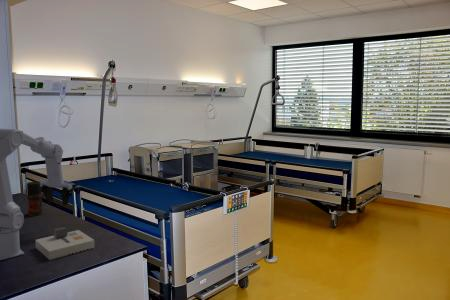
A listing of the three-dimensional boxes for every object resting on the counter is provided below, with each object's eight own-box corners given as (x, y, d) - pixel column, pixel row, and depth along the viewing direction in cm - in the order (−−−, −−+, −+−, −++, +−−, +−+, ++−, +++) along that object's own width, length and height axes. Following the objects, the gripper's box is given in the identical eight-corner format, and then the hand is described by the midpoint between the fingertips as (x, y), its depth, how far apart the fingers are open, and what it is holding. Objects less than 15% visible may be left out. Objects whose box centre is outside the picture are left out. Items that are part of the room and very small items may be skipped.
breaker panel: (49, 259, 128) (49, 251, 127) (35, 247, 138) (35, 239, 137) (94, 247, 139) (94, 239, 138) (78, 237, 149) (78, 229, 148)
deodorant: (25, 214, 175) (23, 183, 173) (37, 211, 181) (35, 180, 179) (33, 216, 173) (32, 184, 171) (45, 213, 178) (43, 182, 176)
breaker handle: (56, 238, 139) (56, 230, 138) (54, 236, 140) (53, 229, 140) (67, 236, 141) (67, 228, 141) (65, 234, 143) (64, 226, 143)
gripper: (75, 171, 156) (79, 202, 159) (47, 168, 160) (50, 198, 163) (64, 176, 149) (67, 208, 152) (34, 173, 153) (38, 204, 156)
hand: (58, 203), depth 157 cm, fingers open, 7 cm apart
